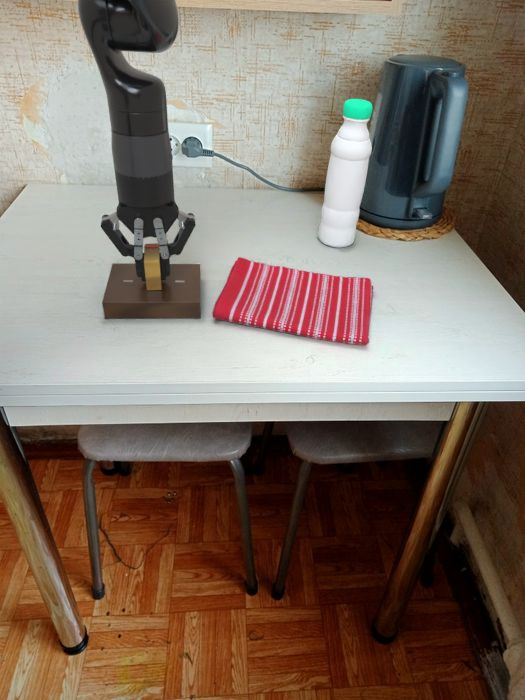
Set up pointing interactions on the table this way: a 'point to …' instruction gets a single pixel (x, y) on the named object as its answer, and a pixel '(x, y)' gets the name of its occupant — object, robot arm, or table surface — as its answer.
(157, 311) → the lock plate
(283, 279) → the dish towel
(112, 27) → the robot arm
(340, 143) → the water bottle
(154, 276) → the yellow milk carton
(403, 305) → the table surface
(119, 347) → the table surface
